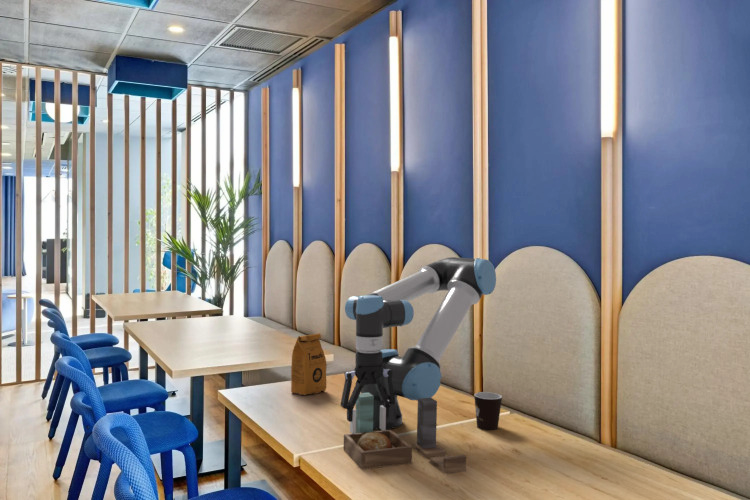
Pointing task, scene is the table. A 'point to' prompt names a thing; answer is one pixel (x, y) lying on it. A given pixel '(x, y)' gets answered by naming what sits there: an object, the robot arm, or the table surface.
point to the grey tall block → (427, 429)
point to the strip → (449, 463)
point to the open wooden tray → (364, 425)
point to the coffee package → (308, 366)
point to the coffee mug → (487, 410)
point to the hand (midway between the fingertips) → (367, 430)
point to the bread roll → (374, 442)
